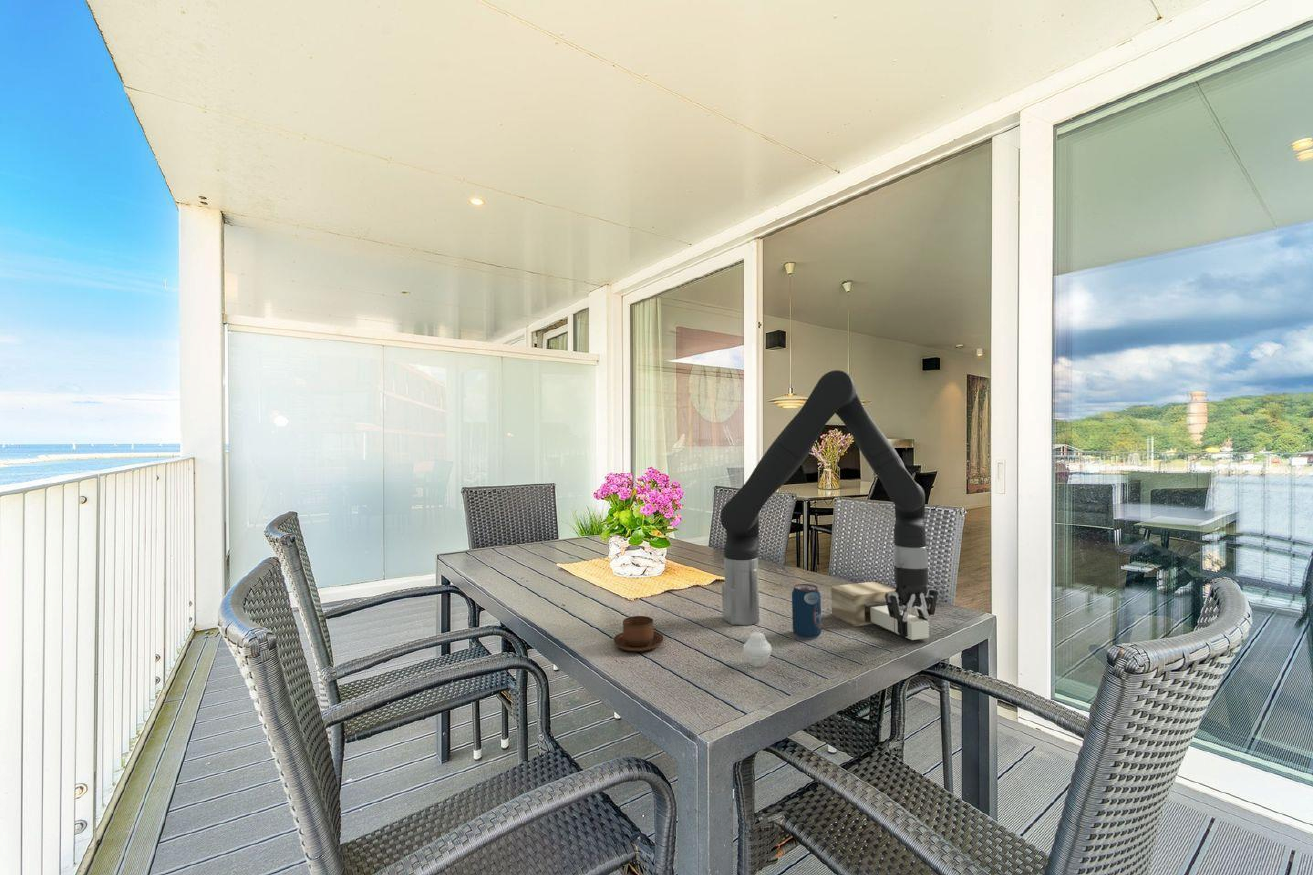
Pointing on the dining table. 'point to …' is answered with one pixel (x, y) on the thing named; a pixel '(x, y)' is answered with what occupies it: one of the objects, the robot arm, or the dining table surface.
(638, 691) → the dining table surface
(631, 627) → the cup and saucer
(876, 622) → the white two-segment bar
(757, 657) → the white rounded piece
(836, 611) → the dispenser
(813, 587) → the soda can
